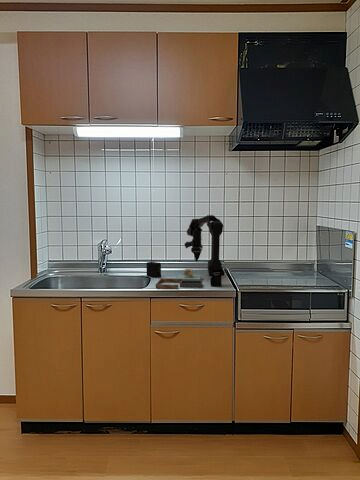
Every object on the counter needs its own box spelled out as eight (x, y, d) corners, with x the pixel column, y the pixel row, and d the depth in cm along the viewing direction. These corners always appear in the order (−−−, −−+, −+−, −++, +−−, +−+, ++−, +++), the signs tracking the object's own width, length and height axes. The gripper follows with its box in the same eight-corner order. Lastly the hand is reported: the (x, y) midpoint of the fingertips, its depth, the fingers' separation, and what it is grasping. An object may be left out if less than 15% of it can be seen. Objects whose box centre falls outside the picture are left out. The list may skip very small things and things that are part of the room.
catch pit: (202, 284, 254) (202, 280, 254) (201, 287, 246) (201, 283, 245) (181, 284, 256) (181, 280, 255) (179, 287, 247) (179, 283, 247)
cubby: (181, 282, 260) (181, 278, 260) (177, 289, 243) (177, 285, 243) (160, 282, 262) (160, 278, 262) (155, 288, 245) (155, 284, 244)
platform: (201, 278, 273) (201, 275, 272) (199, 282, 261) (199, 279, 261) (177, 277, 275) (177, 274, 275) (175, 281, 263) (175, 278, 263)
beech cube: (192, 276, 270) (192, 268, 269) (191, 277, 265) (191, 270, 264) (185, 276, 270) (185, 268, 270) (184, 277, 265) (184, 270, 265)
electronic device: (156, 278, 274) (156, 263, 273) (146, 276, 281) (146, 262, 279) (161, 277, 277) (161, 262, 276) (150, 275, 284) (150, 261, 283)
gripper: (186, 235, 282) (186, 257, 284) (183, 238, 264) (183, 262, 266) (202, 235, 281) (202, 258, 282) (200, 238, 262) (200, 262, 264)
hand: (197, 260), depth 274 cm, fingers open, 9 cm apart
